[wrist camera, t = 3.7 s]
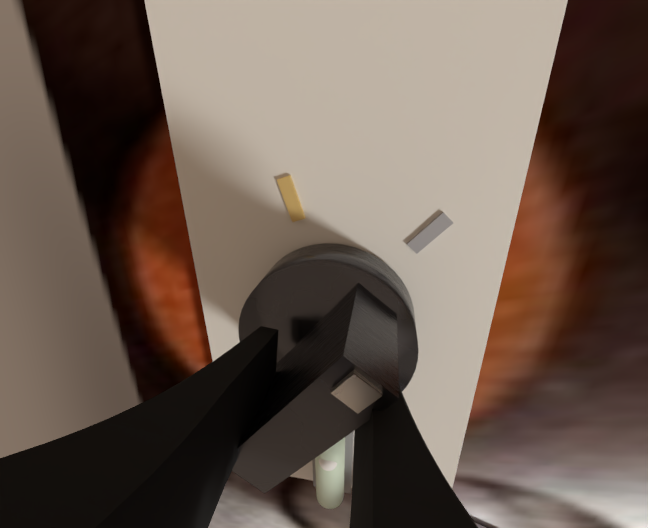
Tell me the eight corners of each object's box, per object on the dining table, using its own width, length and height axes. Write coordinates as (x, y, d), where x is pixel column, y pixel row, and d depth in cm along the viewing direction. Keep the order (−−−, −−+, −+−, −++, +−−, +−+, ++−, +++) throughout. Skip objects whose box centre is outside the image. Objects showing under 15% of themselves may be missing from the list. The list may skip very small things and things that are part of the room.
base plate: (443, 477, 18) (454, 551, 15) (243, 442, 20) (215, 500, 17) (551, -24, 9) (634, -100, 6) (172, 8, 11) (89, -36, 8)
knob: (343, 401, 15) (319, 546, 10) (232, 317, 14) (142, 427, 9) (451, 317, 12) (494, 459, 7) (319, 208, 11) (260, 277, 6)
